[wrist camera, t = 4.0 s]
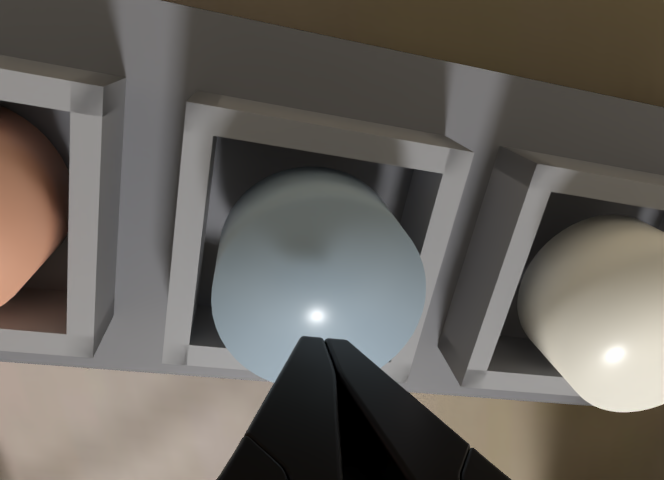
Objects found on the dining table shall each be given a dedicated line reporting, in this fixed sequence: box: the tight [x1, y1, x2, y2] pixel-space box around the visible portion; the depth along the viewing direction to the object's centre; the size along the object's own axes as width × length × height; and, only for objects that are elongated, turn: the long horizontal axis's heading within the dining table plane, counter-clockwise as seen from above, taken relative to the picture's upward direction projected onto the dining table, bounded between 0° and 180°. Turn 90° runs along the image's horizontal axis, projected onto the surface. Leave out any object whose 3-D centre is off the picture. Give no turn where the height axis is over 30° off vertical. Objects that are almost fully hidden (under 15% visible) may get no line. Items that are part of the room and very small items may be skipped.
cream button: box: [517, 214, 664, 412], centre depth 13 cm, size 4×4×2 cm
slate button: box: [211, 166, 426, 383], centre depth 12 cm, size 4×4×2 cm
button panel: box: [0, 0, 664, 406], centre depth 15 cm, size 24×10×5 cm, turn 78°
